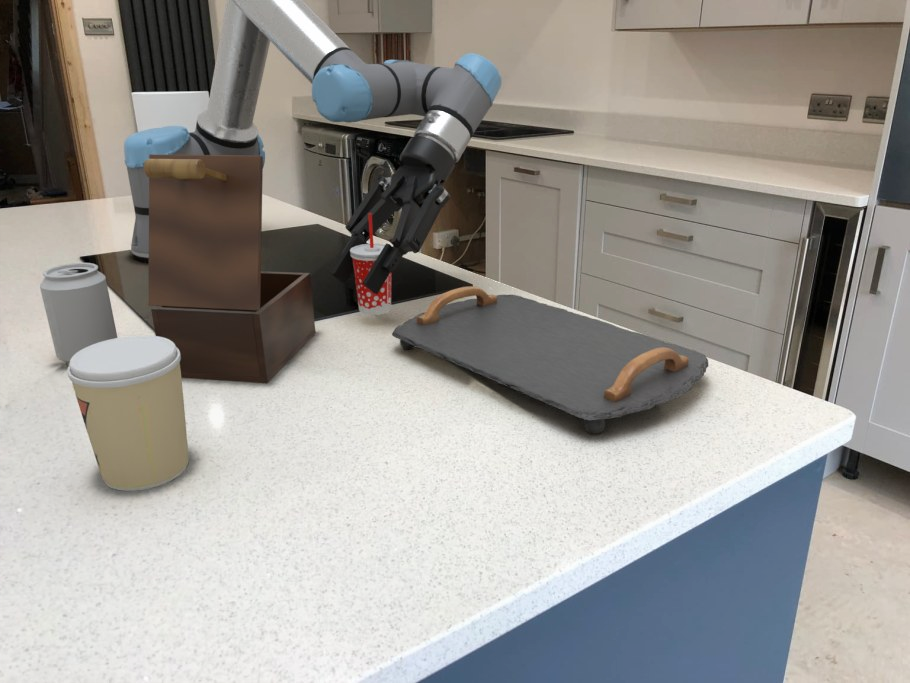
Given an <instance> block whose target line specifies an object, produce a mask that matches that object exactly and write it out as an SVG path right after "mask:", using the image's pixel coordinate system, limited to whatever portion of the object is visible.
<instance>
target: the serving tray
mask: <svg viewBox="0 0 910 683" xmlns="http://www.w3.org/2000/svg"><path fill="white" fill-rule="evenodd" d="M474 296H475V297H476V298H469V299H465V300H461V299H463V298H467V297H474ZM459 299H460V300H461V301H458V300H459ZM391 336H392V337H394V338H395V339H397V340H399V345H400V347H401V348H402V350H403V351H405V352H410V351H413V350H414V348H415V347H416V348H419V349H421V350H423V351H425V352H428V353H430V354H432V355H434V356H436V357H438V358H441V359H443V360H446V361H448V362H450V363H453V364H455V365H456V366H458V367H462V368H464V369H466V370H469V371H470V372H473V373H474V374H478V375H481V376H483V377H484V378H487V379H489V380H492V381H494V382H497V383H498V384H500V385H502V386H505V387H507V388H510V389H513V390H515V391H517V392H519V393H521V394H524V395H526V396H528V397H531V398H533V399H535V400H537V401H540V402H542V403H543V404H544V403H545V404H546V405H549V406H550V407H553V408H556V409H559V410H561V411H562V412H565V413H567V414H570V415H572V416H574V417H576V418H579V419H582V420H584V421H583V423H584V424H583V425H584V428H585V429H586V430H587V433H588V434H589V435H592V436H598V435H600V434H601V433H602V431H604V429H605V427H606V420H609V419H616V418H622V417H623V416H626V415H630V414H635V413H640V412H643V411H648V410H650V409H652V408H654V407H656V406H659V405H662V404H665V403H667V402H671V401H673V400H676V399H677V398H679V397H681V396H683V395H684V394H686V392H688V391H690V390H692V388H693V387H694V386H695V385H696V384H697V383H699V382H700V381H701V380H702V379H703V378H704V376H705V373H706V372H707V369H708V367H709V359H708V358H707V356H706V354H704V353H702V352H700V351H697V350H694V349H690V348H687V347H684V346H681V345H678V344H675V343H671V342H668V341H665V340H662V339H659V338H656V337H653V336H650V335H648V334H644V333H641V332H636V331H631V330H629V329H625V328H622V327H619V326H617V325H614V324H612V323H609V322H606V321H602V320H600V319H597V318H592V317H589V316H586V315H583V314H582V315H581V314H579V313H575V312H573V311H569V310H567V309H565V308H560V307H556V306H553V305H549V304H547V303H543V302H539V301H536V300H534V299H530V298H527V297H524V296H522V295H517V294H496V295H495V294H492V293H491V294H488V293H487V292H486V291H485V290H483V289H482V288H481V287H477V286H472V285H471V286H462V287H458V288H454V289H451V290H449V291H446V292H443V293H441V294H440V295H438V296H437V297H435V299H434V300H433V301H432V302H431V303H430V304H429V306H428V307H427V309H426V310H425V311H424V312H420V313H418V314H417V315H415V316H414V317H411V318H410V319H409V318H408V320H406V321H405V322H404V323H402V324H400V325H398V326H397V327H395V328H394V329H393V331H392V332H391Z"/></svg>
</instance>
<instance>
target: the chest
mask: <svg viewBox="0 0 910 683" xmlns="http://www.w3.org/2000/svg"><path fill="white" fill-rule="evenodd" d="M311 277H312V276H311V273H310V272H289V271H268V270H267V271H265V270H264V271H263V270H261V288H260V311H252V310H232V309H211V308H190V307H170V306H153V307H152V308H151V309H150V311H151V312H150V313H151V318H152V323H153V329H154V334H155V335H154V336H159V337H163V338H167V339H169V340H171V341H172V342H173V343H174V344H175V346H176V347H177V348H178V349H179V351H180V356H181V359H180V369H181V378H182V379H192V380H207V381H220V382H221V381H222V382H236V383H238V382H240V383H253V384H266V385H267V384H269V383H270V382H271V381H272V380H273V379H274V378H275V376H276V375H277V374H279V372H280V371H282V369H284V367H285V366H286V365H287V364H288V363H289V362H290V361H291V360H292V359H293V358H294V357H295V355H296V354H298V353H299V352H300V350H302V348H303V347H304V346H305V345H306V344H307V343H308V342H309V341H310V340H311V339H312V338H313V337H314V336H315V335H316V334H317V332H316V321H315V313H314V312H315V311H314V301H313V300H314V299H313V290H312V279H311Z"/></svg>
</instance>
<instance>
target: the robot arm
mask: <svg viewBox="0 0 910 683" xmlns="http://www.w3.org/2000/svg"><path fill="white" fill-rule="evenodd" d="M225 1H226V2H225V8H224V13H223V19H222V24H221V30H220V36H219V40H218V41H219V42H218V47H217V52H216V59H215V64H214V69H213V75H212V82H211V86H210V92H209V103H208V109H207V110H205V111H203V112H201V113H200V114H199V115H198V118H197V123H196V129H195V131H194V132H190V133H189V132H188V130H187V129H186V128H185V127H182V126H167V127H162V128H153V129H148V130H144V131H140V132H138V131H137V132H135V133H132V134H130V135H129V136H128V137H127V138H125V140H124V142H123V154H124V164H125V166H126V171H127V176H128V182H129V187H130V193H131V199H132V204H133V210H134V214H135V219H134V224H133V232H132V238H131V242H130V243H131V244H130V250H131V251H130V252H131V258H133V260H135V261H138V262H142V263H149V178H148V177H147V176H146V174H145V172H144V163H145V161H146V160H147V159H149V155H150V154H155V155H242V156H262V157H263V168H264V167H265V163H266V151H264V150H263V149H264V147H265V146H264V145H265V144H264V142H263V140H262V138H261V136H260V135H259V129H258V128H257V126H256V124H255V123H254V122H253V121H254V118H255V113H256V108H257V104H258V99H259V95H260V90H261V87H262V86H261V85H262V81H263V77H264V71H265V69H266V68H265V67H266V62H267V58H268V53H269V50H270V44H271V43H272V44H273V46H275V48H277V50H278V51H279V52H281V54H282V55H284V57H285V58H286V59H287V60H288V62H290V63H291V64H292V65H293V66H294V67H295V68H296V70H298V71H299V72H300V73H301V75H302V76H303V77H304V78H305V79H306V80H307V81H308V82H309V83H310V84H311V97H312V102H314V103H315V106H316V110H317V112H318V114H319V115H321V117H322V118H324V119H325V120H326V121H327V120H328V121H329V122H333V123H358V122H360V121H368V120H374V119H381V118H391V117H393V118H394V117H400V116H401V117H402V116H409V115H410V116H411V115H414V116H421V117H423V118H422V120H421V122H420V123H419V125H417V126H418V127H417V128H416V130H415V131H414V133H413V136H412V137H411V138H410V139H409V140H408V142H407V144H406V145H405V147H404V149H403V150H402V152H401V153H400V154H399V167H398V169H397V170H396V171H395V172H393V174H392V175H391V176H388V177H385V176H383V175H382V173H379V174H377V175H376V176H375V177H374V180H373V183H372V186H371V188H370V189H369V191H368V192H367V194H365V196H364V198H363V199H362V201H361V202H360V204H359V205H358V207H357V208H356V210H355V211H354V212H353V214H352V215H351V217H350V219H349V220H348V221H347V223H346V225H345V229H346V231H348V233H349V234H350V238H349V240H348V241H347V242H346V244H345V246H344V248H343V249H342V251H341V254H340V257H339V259H338V261H337V262H336V264H335V265H334V268H333V269H332V270H331V272H330V274H331V275H332V276H333V277H334V278H336V279H337V280H338V281H339V282H340V283H341V284H343V285H346V284H347V283H348V281H349V280H350V278H351V276H352V275H353V273H354V266H353V258H352V257H351V256H350V255H351V253H350V249H351V248H352V247H355V246H358V245H362V244H368V241H370V236H369V217H368V213H372V228H373V235H374V234H375V233H376V232H377V231H378V230H379V229H380V228H382V226H383V225H384V224H385V223H386V221H388V219H389V218H391V216H392V215H393V214H394V213H395V212H401V213H400V215H399V218H398V221H397V222H398V223H397V225H396V228H395V232H394V234H393V238H388V242H389V243H384V244H385V246H384V248H383V249H382V251H381V253H380V254H379V256H378V258H377V259H376V261H375V263H374V265H373V266H372V268H371V270H370V271H369V273H368V275H367V276H366V278H365V280H364V281H363V284H364V285H365V286H366V287H367V288H368V289H369V290H370V291H372V292H373V293H374V294H378V292H379V291H380V289H381V287H382V286H383V284H384V282H385V281H386V279H387V277H388V276H389V274H390V273H394V271H395V270H396V268H397V267H398V265H399V263H400V262H401V260H402V258H403V257H404V256H405V255H407V254H408V253H413V254H417V253H419V252H420V251H421V249H422V247H423V245H424V243H425V241H426V239H427V237H428V235H429V233H430V231H431V229H432V228H433V226H434V224H435V222H436V220H437V218H438V216H439V214H440V212H441V210H442V209H443V208H444V206H445V205H446V204H447V203H448V202H449V201H450V199H451V194H450V193H449V192H448V191H447V190H446V188H444V185H445V184H446V182H447V180H448V179H449V177H450V175H451V174H452V173H453V170H454V169H455V167H456V164H457V163H459V161H460V159H461V157H462V155H463V154H464V152H465V150H466V148H467V146H468V145H469V143H470V141H471V140H472V137H473V136H474V133H475V132H476V130H477V129H478V127H479V126H480V124H481V122H482V121H483V119H484V118H485V116H486V115H487V113H488V112H489V111H490V109H491V107H493V104H494V101H495V99H496V97H497V96H498V93H499V91H500V89H501V87H502V76H501V74H500V72H499V69H498V68H497V66H495V64H494V63H493V62H492V61H491V60H489V59H488V58H487V57H484V56H482V55H481V54H478V53H472V52H471V53H470V52H469V53H467V54H464V55H462V56H461V57H460V58H459V59H458V60H457V61H456V62H454V66H453V67H446V66H437V65H436V66H434V65H430V64H425V63H419V62H414V61H410V60H409V59H402V60H401V59H387V60H384V62H383V63H366V62H364V61H363V60H362V59H361V57H359V56H358V55H357V53H355V52H354V51H353V50H352V49H351V48H350V47H349V46H348V45H347V44H346V43H345V42H344V41H343V40H342V39H341V38H340V37H339V36H338V35H337V34H336V33H335V32H334V31H333V30H332V29H331V27H329V26H328V25H327V23H326V22H325V21H323V19H321V17H319V16H318V15H317V13H315V12H314V11H313V9H312V8H310V6H308V4H307V3H306V2H305V1H304V0H225Z"/></svg>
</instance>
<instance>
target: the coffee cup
mask: <svg viewBox="0 0 910 683" xmlns="http://www.w3.org/2000/svg"><path fill="white" fill-rule="evenodd" d="M180 359H181V356H180V351H179V349H178V348H177V347H176V346H175V344H174V343H173V342H172V341H171V340H169V339H167V338H163V337H159V336H156V335H148V334H147V335H146V334H145V335H144V334H143V335H142V334H141V335H129V336H120V337H119V336H118V338H115V339H110V340H106V341H102V342H99V343H96V344H93V345H90V346H88V347H86V348H84V349H82V350H80V351H79V352H77V353H76V354H75V355H74V356H73V357H72V358H71V360H70V363H69V364H68V366H67V371H66V372H67V375H68V378H69V380H70V381H71V383H72V387H73V391H74V393H75V394H74V395H75V397H76V400H77V404H78V407H79V410H80V413H81V416H82V417H81V418H82V419H83V423H84V427H85V429H86V433H87V436H88V439H89V443H90V446H91V448H92V452H93V455H94V458H95V461H96V464H97V468H98V471H99V473H100V476H101V478H102V481H103V482H104V484H105V485H106V486H108V487H109V488H111V489H114V490H117V491H125V492H136V491H144V490H150V489H153V488H157V487H159V486H163V485H165V484H167V483H169V482H172V481H173V480H175V479H176V478H178V477H179V476H181V475H182V473H183V472H185V470H186V469H187V467H188V464H189V445H188V434H187V433H188V432H187V424H186V423H187V422H186V412H185V400H184V388H183V378H181V369H180Z"/></svg>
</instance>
